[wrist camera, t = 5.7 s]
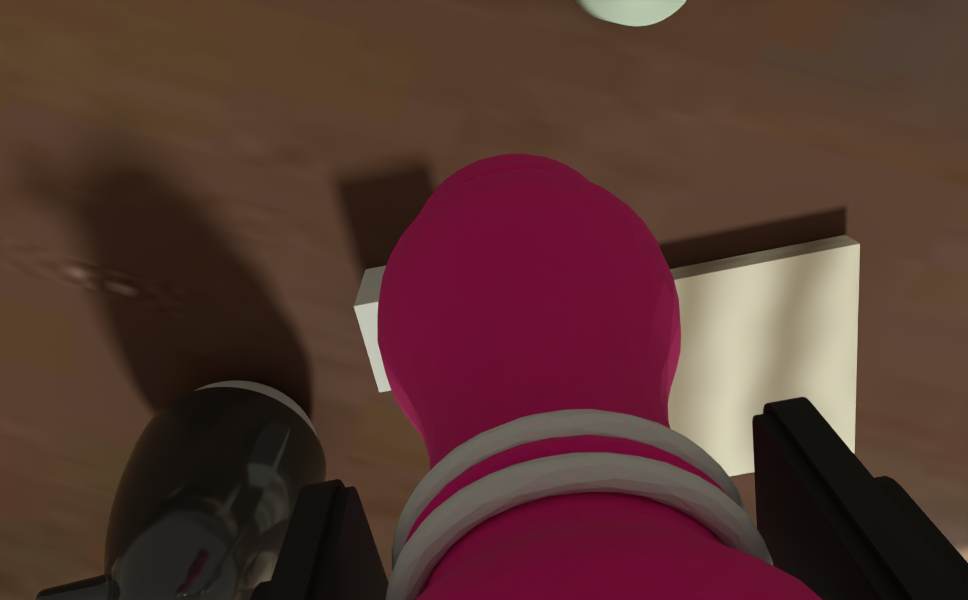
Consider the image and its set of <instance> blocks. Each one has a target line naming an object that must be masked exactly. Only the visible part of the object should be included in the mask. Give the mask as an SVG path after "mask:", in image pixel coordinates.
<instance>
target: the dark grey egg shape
mask: <svg viewBox="0 0 968 600" xmlns="http://www.w3.org/2000/svg"><path fill="white" fill-rule="evenodd" d="M325 478H326V462H325V456H324V452H323V449H322V446H321V444H320V442H319V440H318V437H317V434H316V431H315V429H314V427H313V425H312V423H311V421H310V419H309V418H308V416H307V415H306V413H305V412H304V411H303V410H302V409H301V407H300V406H299V405H298V404H297V403H295V402H294V401H293V400H292V399H291V398H289V397H288V396H286V395H285V394H283V393H282V392H280V391H278V390H276V389H274V388H272V387H269V386H266V385H264V384H260V383H256V382H250V381H223V382H217V383H213V384H209V385H206V386H204V387H201V388H199V389H196V390H194V391H192V392H189V393H186V394H184V395H181V396H179V397H177V398H175V399H174V400H172V401H170V402H169V403H168V404H166V405H165V406H164V407H162V408H161V409H160V410H159V411H158V412H157V413H156V414H155V415H154V417H153V418H152V419H151V420H150V422H149V423H148V424H147V426H146V427H145V429H144V430H143V432H142V434H141V435H140V437H139V439H138V441H137V443H136V445H135V447H134V449H133V451H132V453H131V456H130V458H129V460H128V462H127V465H126V467H125V469H124V472H123V474H122V477H121V480H120V482H119V485H118V488H117V491H116V494H115V498H114V501H113V505H112V509H111V513H110V518H109V523H108V528H107V535H106V543H105V557H104V574H103V575H100V576H97V577H93V578H89V579H85V580H80V581H76V582H72V583H68V584H64V585H60V586H56V587H52V588H48V589H44V590H42V591H40V592H39V593H38V595H37V597H36V600H250V598H251V595H252V593H253V591H254V589H255V587H256V586H257V585H258V584H259V583H260V582H265V581H271V578H272V575H273V572H274V569H275V566H276V563H277V559H278V556H279V553H280V550H281V547H282V544H283V541H284V538H285V535H286V532H287V529H288V526H289V523H290V520H291V517H292V513H293V510H294V507H295V504H296V501H297V498H298V495H299V492H300V490H301V488H302V487H303V486H304V485H308V484H314V483H320V482H325Z"/></svg>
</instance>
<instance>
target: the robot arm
mask: <svg viewBox="0 0 968 600" xmlns="http://www.w3.org/2000/svg"><path fill="white" fill-rule="evenodd" d="M752 429H753V451H754V472H755V493H756V515H757V530H758V531H759V533H760V534H761V536H762V538H763V539H764V541H765V544H766V546H767V549H768V551H769V554H770V556H771V558H772V561H773V566H775V567H776V568H778V569H780V570H782V571H784V572H786V573H788V574H790V575H792V576H794V577H796V578H797V579H799V580H801V581H802V582H803V583H804V584H805V585H806V586H808V587H809V588H810V589H811V590H812V591H813V592H814V593H816V594H817V595H818V596H819V597H820V598H821V599H822V600H968V563H967V561H966V560H964V558H963V557H962V556H961V555H960V553H959V552H958V551H957V550H956V549H955V548H954V547H953V545H952V544H951V543H950V542H949V541H948V540H947V538H946V537H945V536H944V535H943V534H942V533H941V532H940V530H939V529H938V528H937V527H936V526H935V525H934V524H933V522H932V521H931V520H930V519H929V518H928V517H927V516H926V514H925V513H924V512H923V511H922V510H921V509H920V507H919V506H918V505H917V504H916V503H915V502H914V501H913V499H912V498H911V497H910V496H909V495H908V494H907V493H906V491H905V490H904V489H903V488H902V487H901V486H900V485H899V484H898V483H897V482H896V481H895V480H894V479H892V478H890V477H887V476H882V477H876V478H873V476H872V475H871V474H870V473H869V472H868V470H867V469H866V468H865V467H864V465H863V464H862V463H861V462H860V461H859V459H858V458H857V457H856V456H855V455H854V453H853V452H852V451H851V450H850V449H849V447H848V446H847V445H846V444H845V443H844V441H843V440H842V439H841V438H840V437H839V435H838V434H837V433H836V432H835V431H834V429H833V428H832V427H831V426H830V425H829V423H828V422H827V421H826V420H825V419H824V417H823V416H822V415H821V414H820V412H819V411H818V410H817V409H816V408H815V406H814V405H813V404H812V403H811V402H810V401H809V400H808V399H807V398H806V397H798V398H793V399H787V400H781V401H776V402H770V403H766V404H765V405H764V408H763V414H759V415H755V416H753V419H752ZM388 584H389V583H388V580H387V577H386V574H385V572H384V569H383V566H382V563H381V560H380V557H379V554H378V551H377V548H376V545H375V542H374V539H373V536H372V533H371V530H370V527H369V524H368V521H367V518H366V516H365V513H364V510H363V507H362V504H361V501H360V498H359V495H358V492H357V490H356V488H355V487H353V486H352V487H346V488H345V486H344V484H343V483H342V481H341V480H339V479H336V480H331V481H325V482H320V483H314V484H308V485H304V486H303V487H302V488H301V490H300V492H299V495H298V498H297V501H296V504H295V507H294V510H293V513H292V517H291V520H290V523H289V526H288V529H287V532H286V535H285V538H284V541H283V544H282V547H281V550H280V553H279V556H278V559H277V563H276V566H275V569H274V572H273V575H272V578H271V581H265V582H260V583H259V584H258V585H257V586H256V587H255V589H254V591H253V593H252V595H251V598H250V600H386V595H387V589H388Z"/></svg>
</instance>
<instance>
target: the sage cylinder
mask: <svg viewBox="0 0 968 600" xmlns="http://www.w3.org/2000/svg"><path fill="white" fill-rule="evenodd" d="M574 2H575V3H576V4H577V5H578V6H579V7H580V8H581V9H582V10H583V11H584V12H586V13H587V14H589V15H591V16H593V17H595V18H598V19H601V20H605V21H609V22H614V23H618V24H623V25H629V26H645V25H650V24H654V23H657V22H659V21H661V20H664V19H665V18H667V17H669V16H670V15H672V14H673V13H674V12H676V11H677V10H678V9H679V8H680V7H681V6H682V5H683V4H684V3H685V2H686V0H574Z"/></svg>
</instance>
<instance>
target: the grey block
mask: <svg viewBox="0 0 968 600" xmlns="http://www.w3.org/2000/svg"><path fill="white" fill-rule="evenodd" d="M385 268H386V266H381V267H376V268H370V269H365V273H364V276H363V279H362V282H361V285H360V289H359V292H358V295H357V298H356V301H355V304H354V308H355V312H356V315H357V318H358V322H359V325H360V329H361V332H362V335H363V339H364V342H365V345H366V349H367V352H368V356H369V359H370V362H371V366H372V369H373V373H374V376H375V379H376V383H377V386H378V389H379V392H384V391H389V390H391V388H390V385H389V382H388V379H387V376H386V373H385V369H384V365H383V361H382V357H381V354H380V350H379V346H378V342H377V315H378V302H379V295H380V289H381V283H382V277H383V274H384V271H385Z"/></svg>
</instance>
